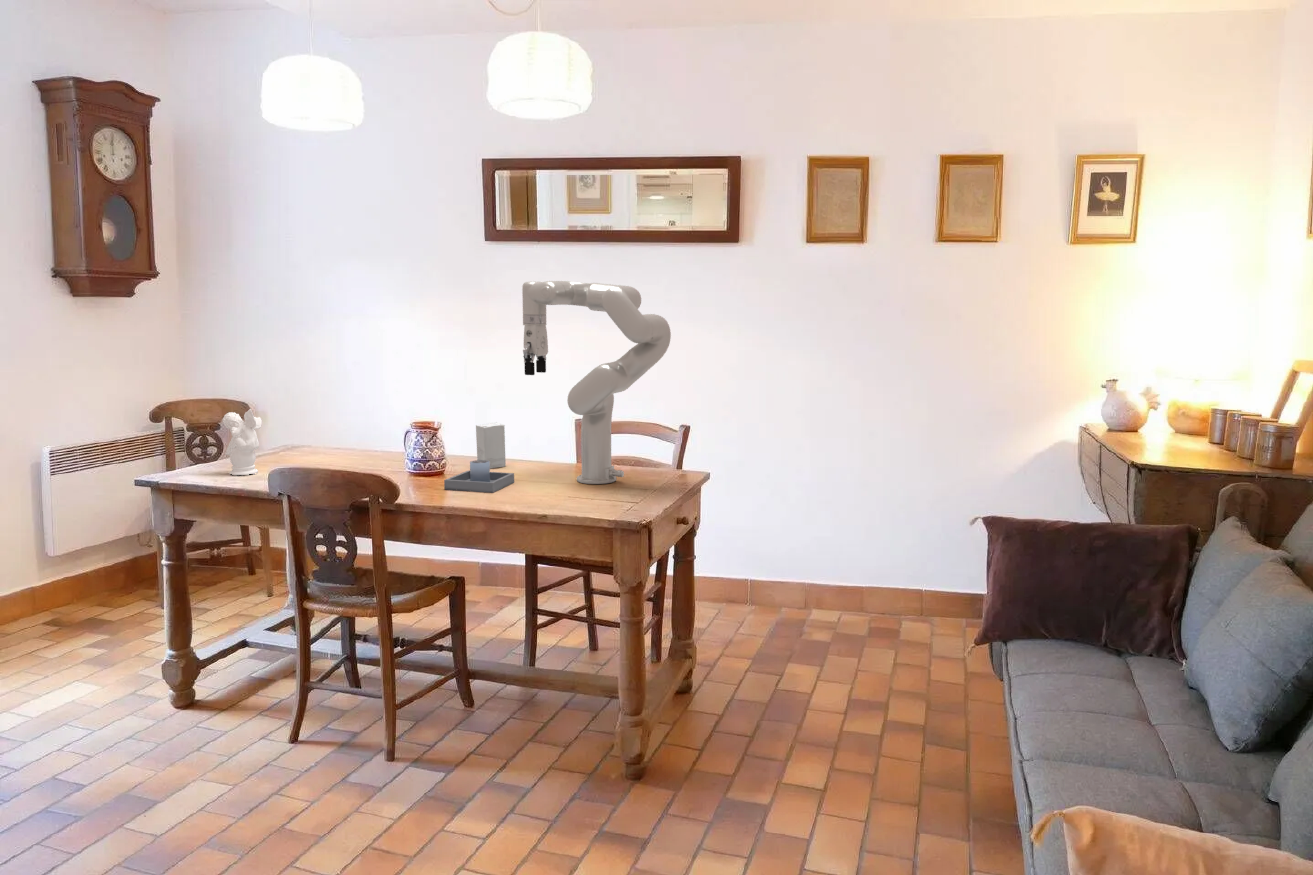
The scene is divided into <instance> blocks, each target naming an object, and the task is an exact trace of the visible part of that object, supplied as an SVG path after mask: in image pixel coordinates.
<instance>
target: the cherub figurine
mask: <svg viewBox="0 0 1313 875" xmlns="http://www.w3.org/2000/svg"><path fill="white" fill-rule="evenodd" d="M243 419H244V420H243ZM243 419H242V417H241V416H240V414H239V413H236V412H233V411H232V412H227V413H226V414H224V415H223V418H222V422H223V425H224V427H225V428H226V429H229V432H230V433H231V439H230V441H229V443H228V446H227V448H226V450H225V454H224V455H226V456H227V455H228V456H229V460H230V463H231V465H232V466H231V469H232V470H230V471H229V475H230V474H232V475H249V474H253V475H256V474H255V473H257V474H258V473H259V470H258V469H257V468H255V467H256V464H255V462H256V460H257V459H256V458H257V454H256V452H255V450H258V449H259V447H260V442H259V438H258V435H257V431H256V430H259V429H261V428H262V424H263V418H261V416H257V417H256V416H255V415H254V412H253V410H252V408H249V409H248V410H247V411H245V413H244V415H243ZM232 475H231V476H232ZM249 476H250V475H249Z"/></svg>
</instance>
